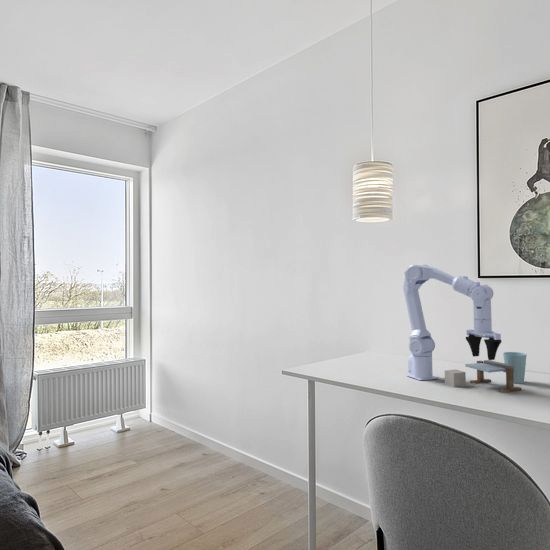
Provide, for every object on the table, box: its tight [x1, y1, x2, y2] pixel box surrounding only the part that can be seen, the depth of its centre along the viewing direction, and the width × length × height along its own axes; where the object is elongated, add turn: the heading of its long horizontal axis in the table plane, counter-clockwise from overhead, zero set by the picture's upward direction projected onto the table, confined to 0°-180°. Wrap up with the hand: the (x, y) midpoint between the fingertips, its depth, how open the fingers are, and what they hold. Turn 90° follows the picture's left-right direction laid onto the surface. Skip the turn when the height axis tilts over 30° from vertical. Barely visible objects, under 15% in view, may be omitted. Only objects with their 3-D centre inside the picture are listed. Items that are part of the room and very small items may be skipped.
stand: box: [469, 360, 523, 393], centre depth 161 cm, size 16×8×8 cm, turn 16°
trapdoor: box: [464, 359, 514, 373], centre depth 161 cm, size 12×10×2 cm
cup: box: [502, 351, 527, 384], centre depth 167 cm, size 8×8×10 cm
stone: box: [444, 369, 467, 388], centre depth 165 cm, size 5×5×5 cm
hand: (483, 357), depth 160 cm, fingers open, 7 cm apart
